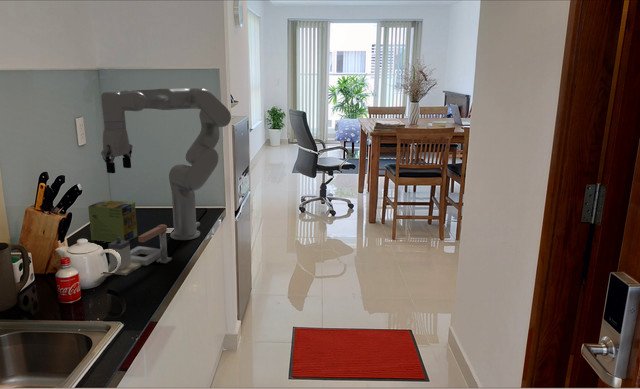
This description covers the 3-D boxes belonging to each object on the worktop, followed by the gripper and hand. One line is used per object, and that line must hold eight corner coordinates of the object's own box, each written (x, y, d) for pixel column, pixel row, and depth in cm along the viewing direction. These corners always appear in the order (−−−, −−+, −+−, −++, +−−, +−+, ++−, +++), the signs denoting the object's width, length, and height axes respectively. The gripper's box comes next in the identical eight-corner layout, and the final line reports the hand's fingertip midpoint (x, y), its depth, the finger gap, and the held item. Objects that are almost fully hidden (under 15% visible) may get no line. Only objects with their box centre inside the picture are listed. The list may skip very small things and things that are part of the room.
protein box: (125, 244, 197) (122, 208, 193) (90, 241, 199) (87, 206, 196) (138, 236, 207) (135, 201, 203) (105, 233, 209) (102, 199, 206)
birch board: (115, 262, 178) (115, 259, 178) (141, 266, 176) (141, 263, 175) (99, 271, 170) (98, 269, 170) (125, 275, 167) (125, 272, 167)
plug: (119, 262, 176) (117, 234, 173) (131, 264, 174) (129, 235, 172) (110, 267, 171) (107, 238, 168) (122, 269, 170) (119, 240, 167)
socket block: (138, 250, 190) (138, 246, 190) (165, 254, 187) (164, 249, 187) (118, 261, 179) (118, 256, 179) (146, 265, 176) (146, 260, 176)
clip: (137, 241, 166) (136, 236, 166) (161, 229, 180) (160, 224, 179) (145, 242, 165) (144, 237, 165) (168, 230, 179) (168, 224, 179)
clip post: (162, 258, 183) (160, 229, 180) (171, 259, 182) (170, 230, 179) (156, 262, 180) (154, 232, 177) (165, 263, 179) (164, 233, 176)
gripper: (120, 122, 187) (124, 165, 192) (90, 127, 171) (95, 174, 175) (137, 123, 186) (141, 166, 190) (108, 128, 169) (113, 175, 174)
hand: (119, 170), depth 183 cm, fingers open, 9 cm apart
